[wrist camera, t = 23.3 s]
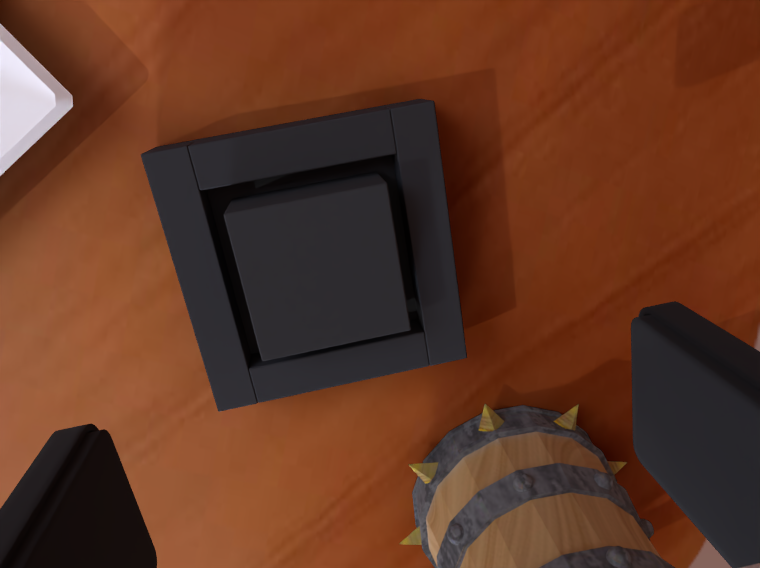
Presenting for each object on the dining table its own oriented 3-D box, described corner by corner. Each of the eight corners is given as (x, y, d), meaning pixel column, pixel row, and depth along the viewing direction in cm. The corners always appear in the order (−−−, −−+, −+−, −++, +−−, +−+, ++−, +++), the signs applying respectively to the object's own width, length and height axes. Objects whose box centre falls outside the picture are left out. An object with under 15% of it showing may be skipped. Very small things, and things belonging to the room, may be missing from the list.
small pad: (376, 170, 24) (387, 182, 21) (398, 304, 26) (411, 330, 23) (231, 198, 24) (223, 214, 21) (265, 331, 26) (262, 362, 23)
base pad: (421, 98, 25) (434, 100, 22) (453, 335, 28) (467, 358, 26) (155, 147, 24) (140, 154, 21) (224, 384, 27) (218, 412, 25)
